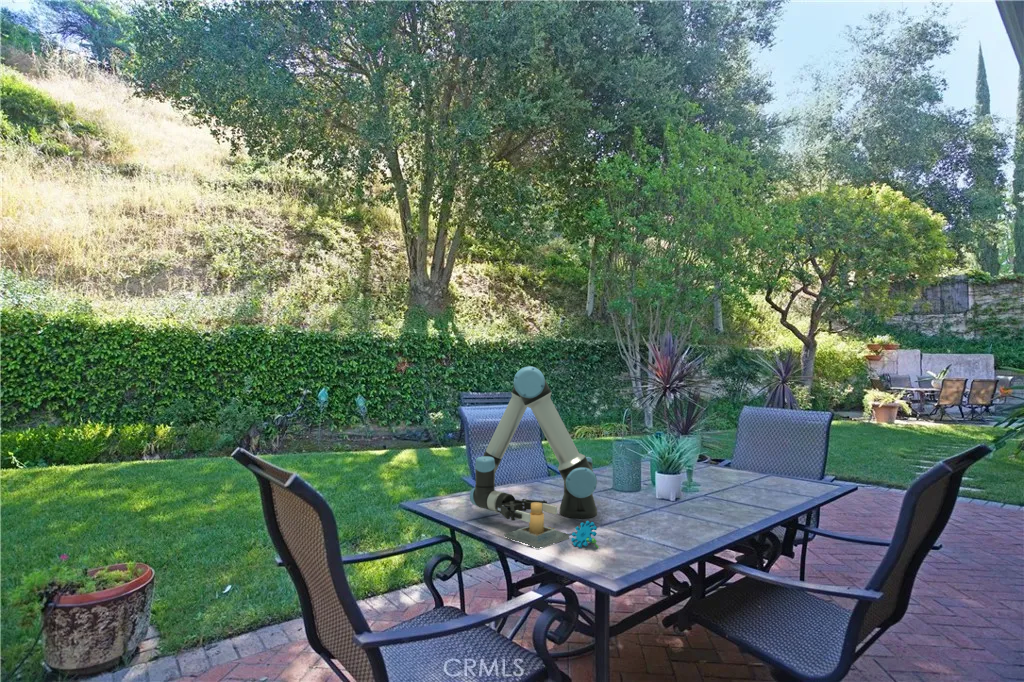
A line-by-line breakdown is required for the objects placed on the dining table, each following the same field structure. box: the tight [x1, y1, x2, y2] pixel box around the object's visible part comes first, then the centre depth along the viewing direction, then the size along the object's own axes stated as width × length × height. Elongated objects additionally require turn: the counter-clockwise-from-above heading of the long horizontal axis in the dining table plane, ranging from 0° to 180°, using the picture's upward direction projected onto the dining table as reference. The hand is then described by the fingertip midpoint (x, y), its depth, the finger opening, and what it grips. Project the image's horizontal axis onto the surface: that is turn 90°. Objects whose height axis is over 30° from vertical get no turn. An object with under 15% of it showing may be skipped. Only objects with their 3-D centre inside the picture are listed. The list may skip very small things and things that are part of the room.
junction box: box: [503, 525, 570, 549], centre depth 189 cm, size 16×16×3 cm
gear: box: [570, 520, 600, 549], centre depth 182 cm, size 11×6×10 cm
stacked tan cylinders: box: [528, 502, 545, 534], centre depth 189 cm, size 5×5×10 cm
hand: (543, 514), depth 187 cm, fingers open, 13 cm apart
